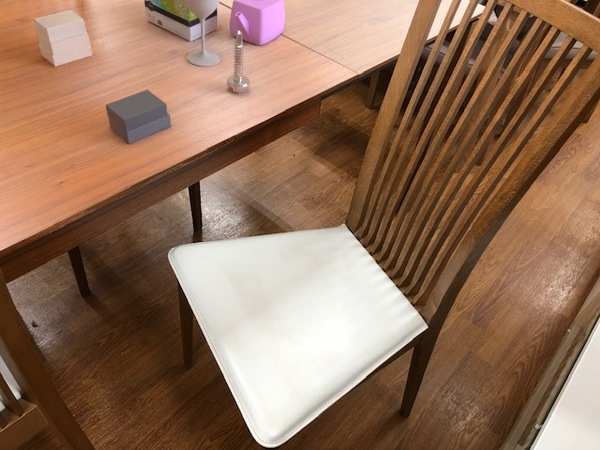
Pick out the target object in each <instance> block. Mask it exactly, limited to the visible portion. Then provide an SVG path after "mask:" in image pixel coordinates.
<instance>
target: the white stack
mask: <svg viewBox="0 0 600 450" xmlns="http://www.w3.org/2000/svg"><path fill="white" fill-rule="evenodd" d="M36 34H37V38H38V42H39V43H38V48H39V51H40V55H41V56H42V57H43V58H44V59H45V60H47V62H49V64H51V65H53V66H54V67H58V66H63V65H66V64H69V63H72V62H76V61H79V60H83V59H85V58H86V59H87V58H89V57H93V50H92V47H91V40H90V37H89V33H88V32H87V33H86V34H82V35H78V36H74V37H71V38H67V39H63V40H60V41H56V42H52V43H50V42H48V41H47V40H46V39H45V38H43V37H42V36H41V35H40V34H38V33H37V32H36Z"/></svg>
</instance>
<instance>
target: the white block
mask: <svg viewBox="0 0 600 450" xmlns="http://www.w3.org/2000/svg"><path fill="white" fill-rule="evenodd" d="M33 22H34V26H35V29H36V34H37V33H38V34H40V35H41V36H42V37H43V38H45V39H46V40H47V41H48V42H50V43H52V42H56V41H60V40H63V39H67V38H71V37H74V36H78V35H82V34H86V33H88V32H87V27H86V22H85V19H84V17H83V18H82V17H81V16H80V15H79V14H77V13H76V12H74V11H73V10H71V9H68V10H64V11H60V12H56V13H52V14H48V15H43V16H40V17H39V16H38V17H34V18H33Z"/></svg>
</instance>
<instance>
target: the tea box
mask: <svg viewBox="0 0 600 450" xmlns="http://www.w3.org/2000/svg"><path fill="white" fill-rule="evenodd" d="M143 2H144V9H145V17H146V21H147V22H150V23H152V24H154V25H156V26H159V27H160V28H163V29H164V30H167V31H168V32H171V33H172V34H175V35H176V36H178V37H180V38H182V39H185V40H186V41H187V42H193V41H195V40H197V39H201V23H200V19H199V18H198V17H197V16H196V15H195V14H193V13H192V12H191V11H190V10H189V9H188V8H187V6H186V4H185V2H184V0H143ZM217 29H218V7H217V8H216V9H215V10H214V12H213V13H211V14H210V15H209V16H208V17H206V18H205V21H204V36H206V35H208V34H211V33H212V32H214V31H216V30H217Z"/></svg>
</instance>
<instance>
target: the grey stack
mask: <svg viewBox="0 0 600 450" xmlns="http://www.w3.org/2000/svg"><path fill="white" fill-rule="evenodd" d="M105 109H106V113H107V118H108V123H109V127H110V129H111V130H112V131H113V132H114V133H116V134H117V135H118V136H119V137H120V138H122V139H123V141H125V142H126V143H127V144H129V145H130V144H133V143H135V142H137V141H140V140H142V139H144V138H147V137H149V136H152V135H153V134H156V133H159V132H162V131H164V130H166V129H168V128H171V127H172V123H171V115H170V114H169V112H168V109H167V103H166V102H165V101H163V100H162V99H161V98H159V97H158V96H157V95H155V94H154V93H153V92H151V91H150V90H149V89H145V90H143V91H139V92H137V93H134V94H131V95H129V96H126V97H122V98H120V99H118V100H115V101H111V102H109V103H106V104H105Z"/></svg>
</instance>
